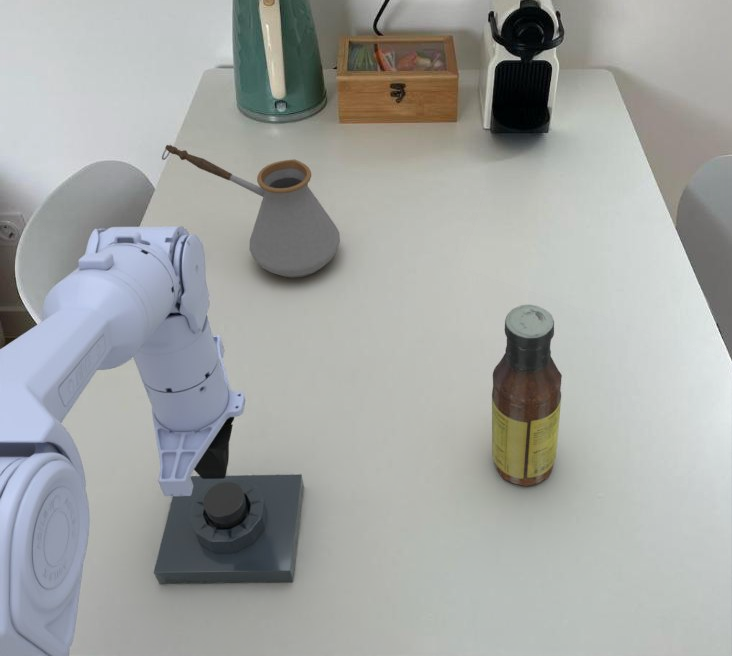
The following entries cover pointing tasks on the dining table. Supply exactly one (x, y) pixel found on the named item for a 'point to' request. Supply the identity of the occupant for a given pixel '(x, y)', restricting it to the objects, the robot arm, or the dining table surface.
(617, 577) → the dining table surface
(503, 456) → the sauce bottle
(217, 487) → the dark grey push button
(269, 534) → the grey button housing
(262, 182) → the coffee pot
